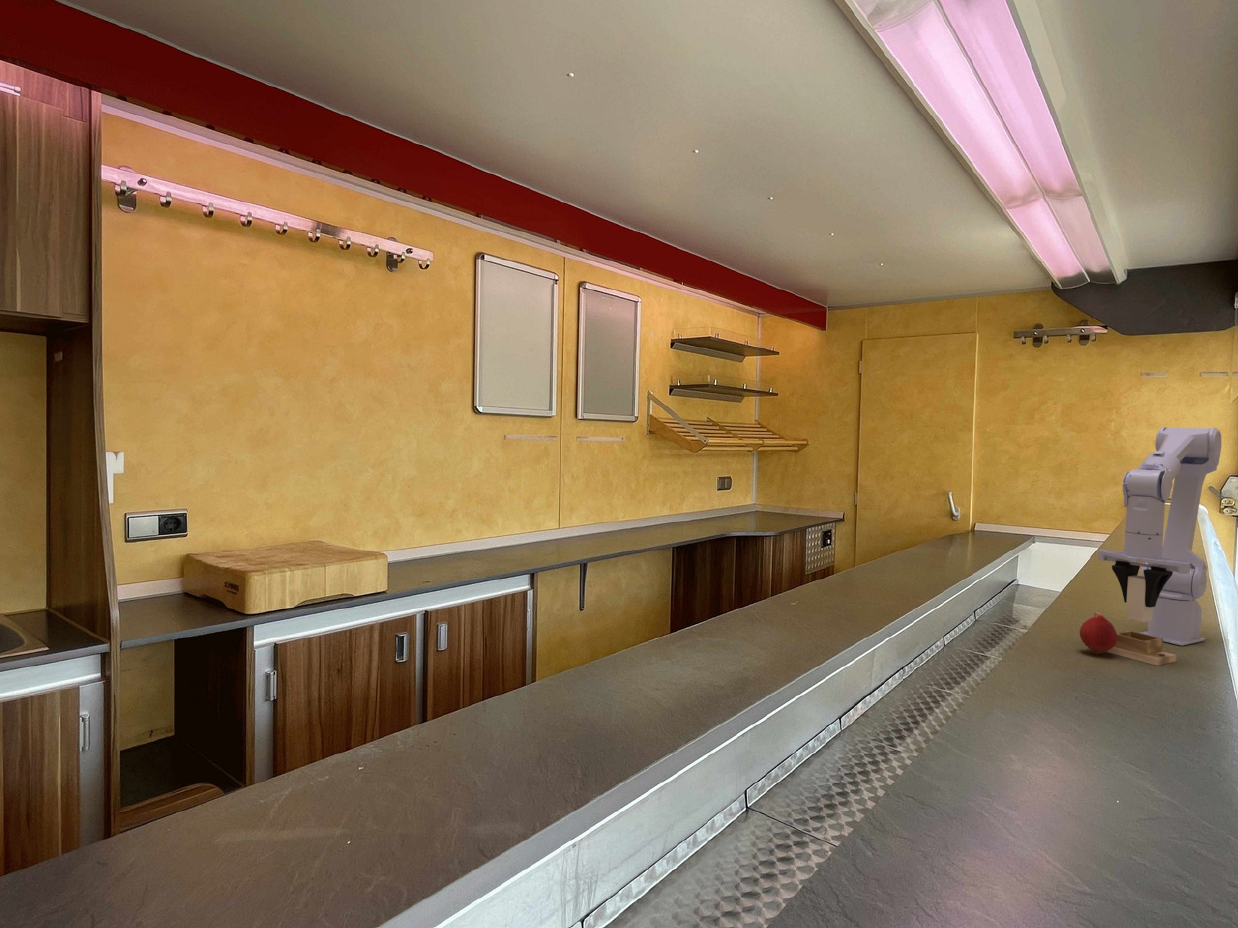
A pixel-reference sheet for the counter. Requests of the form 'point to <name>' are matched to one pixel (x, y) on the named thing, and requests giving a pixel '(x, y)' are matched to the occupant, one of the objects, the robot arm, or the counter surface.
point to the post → (1137, 600)
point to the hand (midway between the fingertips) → (1139, 604)
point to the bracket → (1141, 648)
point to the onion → (1098, 634)
